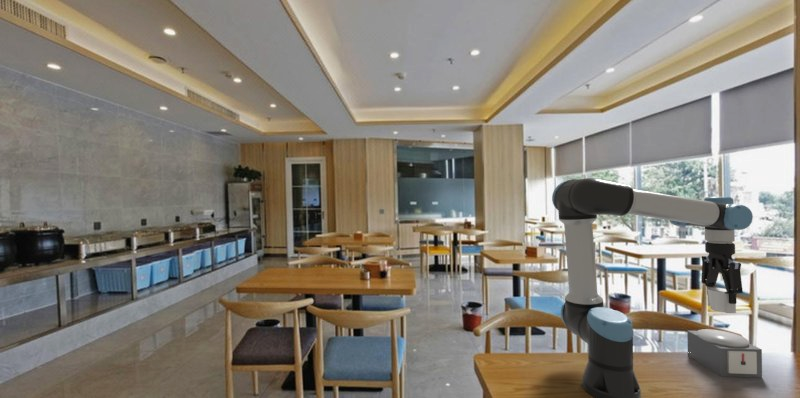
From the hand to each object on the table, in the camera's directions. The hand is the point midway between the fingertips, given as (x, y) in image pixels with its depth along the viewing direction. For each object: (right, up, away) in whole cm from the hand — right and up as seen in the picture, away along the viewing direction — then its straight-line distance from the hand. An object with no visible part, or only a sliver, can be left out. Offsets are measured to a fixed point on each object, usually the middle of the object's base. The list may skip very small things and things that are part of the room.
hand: (721, 309), depth 118 cm
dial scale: (+1, -20, 0) cm, 20 cm away
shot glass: (0, -1, 0) cm, 1 cm away
